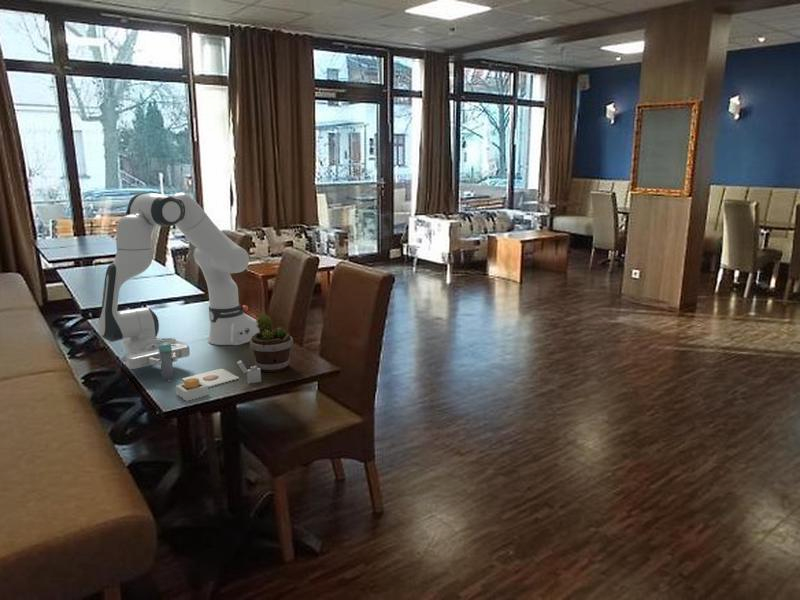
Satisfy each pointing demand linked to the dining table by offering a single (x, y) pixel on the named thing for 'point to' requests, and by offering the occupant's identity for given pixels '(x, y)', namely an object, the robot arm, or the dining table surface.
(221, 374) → the paper pad
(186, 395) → the button box
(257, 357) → the flowerpot
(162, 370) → the grey teal bottle
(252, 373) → the lighter
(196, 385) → the button
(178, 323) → the dining table surface
